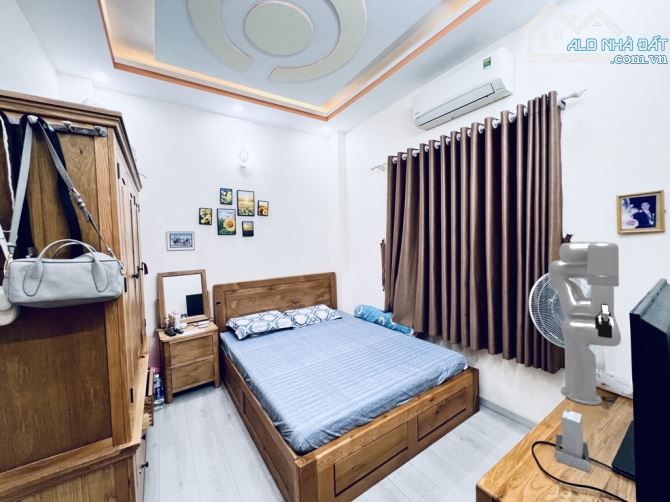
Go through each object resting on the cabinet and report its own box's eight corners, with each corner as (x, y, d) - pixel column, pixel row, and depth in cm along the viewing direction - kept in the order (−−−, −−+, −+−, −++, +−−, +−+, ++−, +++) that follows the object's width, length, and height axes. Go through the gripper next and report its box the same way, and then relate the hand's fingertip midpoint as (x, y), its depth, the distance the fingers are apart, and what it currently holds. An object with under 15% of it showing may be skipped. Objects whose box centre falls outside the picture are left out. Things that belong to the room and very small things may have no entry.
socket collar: (556, 440, 91) (556, 432, 91) (587, 450, 87) (587, 442, 86) (555, 460, 83) (555, 451, 83) (589, 472, 78) (589, 463, 78)
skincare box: (581, 466, 81) (581, 423, 80) (561, 457, 84) (561, 417, 84) (584, 454, 85) (583, 414, 85) (564, 447, 88) (564, 408, 88)
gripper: (585, 277, 102) (586, 325, 102) (589, 283, 88) (589, 338, 89) (614, 278, 97) (615, 328, 97) (623, 284, 84) (623, 342, 84)
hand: (603, 333), depth 93 cm, fingers open, 9 cm apart
